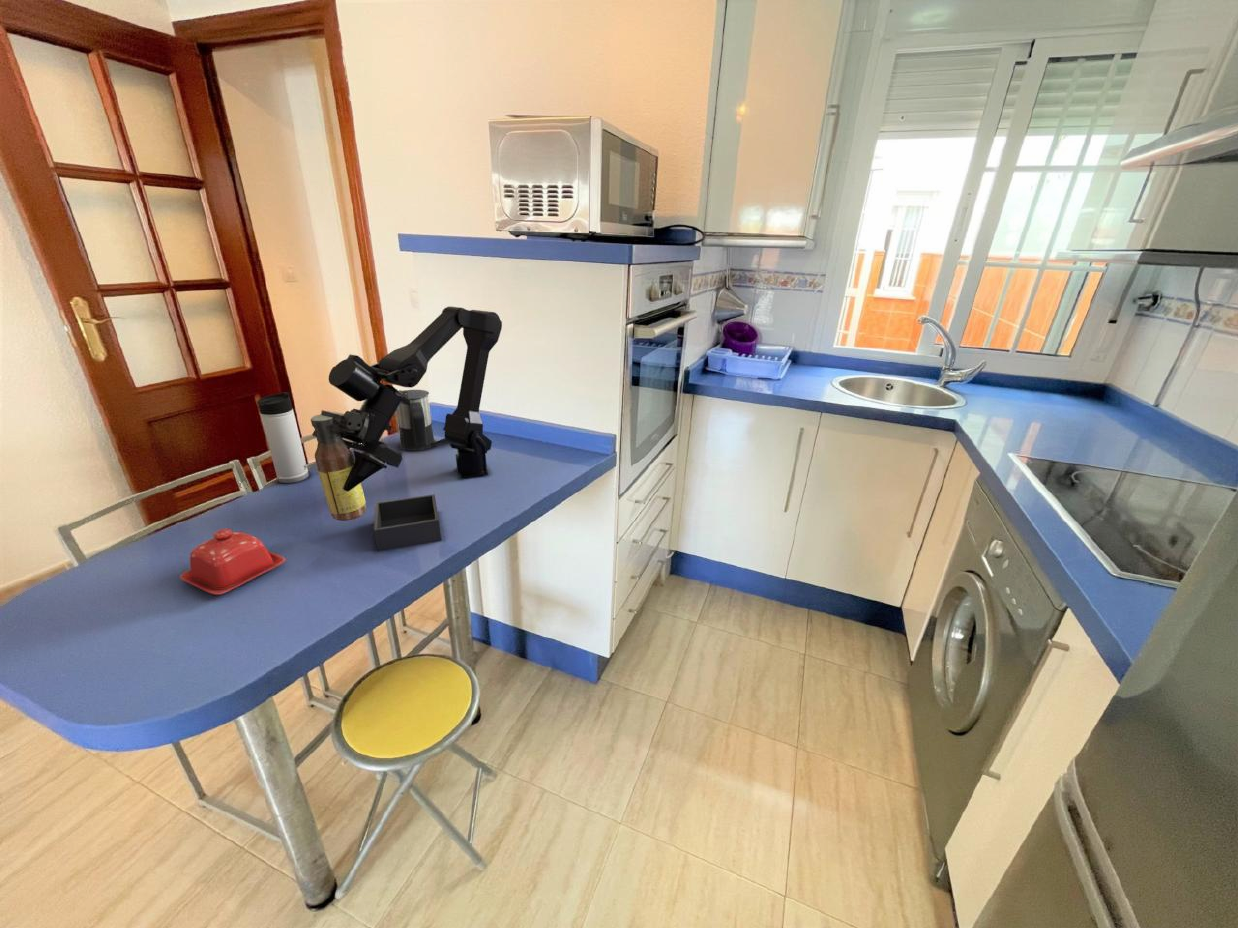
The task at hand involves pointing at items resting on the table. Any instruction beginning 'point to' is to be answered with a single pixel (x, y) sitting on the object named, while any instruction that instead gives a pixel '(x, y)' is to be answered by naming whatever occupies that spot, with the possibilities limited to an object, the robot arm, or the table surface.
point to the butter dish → (229, 562)
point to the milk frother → (416, 422)
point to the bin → (406, 522)
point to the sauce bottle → (336, 471)
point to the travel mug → (283, 437)
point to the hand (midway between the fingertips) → (334, 486)
